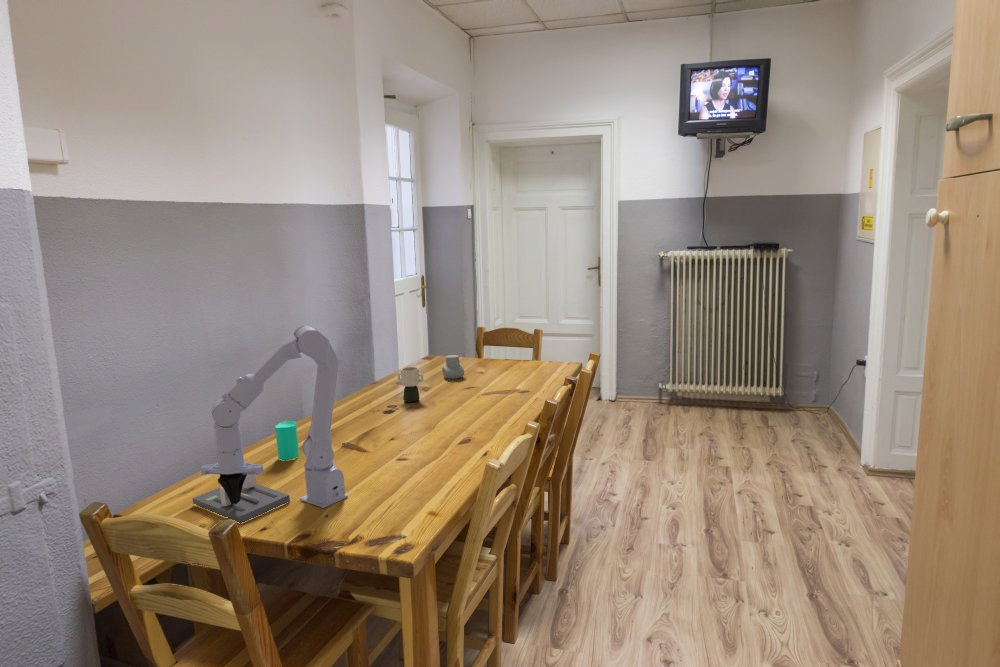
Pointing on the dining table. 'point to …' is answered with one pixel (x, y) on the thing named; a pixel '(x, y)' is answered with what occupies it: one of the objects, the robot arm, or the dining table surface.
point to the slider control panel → (243, 502)
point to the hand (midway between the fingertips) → (235, 502)
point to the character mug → (410, 383)
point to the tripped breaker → (224, 497)
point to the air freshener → (453, 368)
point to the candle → (287, 440)
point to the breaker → (249, 481)
